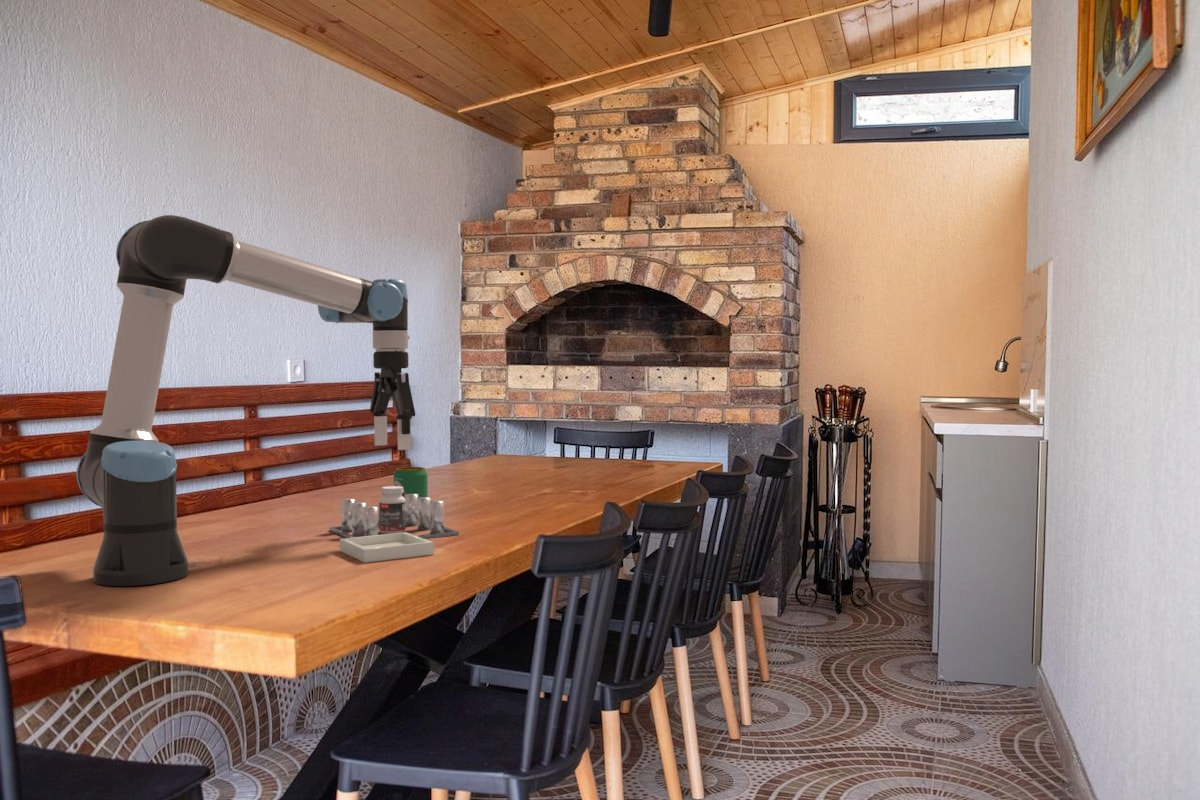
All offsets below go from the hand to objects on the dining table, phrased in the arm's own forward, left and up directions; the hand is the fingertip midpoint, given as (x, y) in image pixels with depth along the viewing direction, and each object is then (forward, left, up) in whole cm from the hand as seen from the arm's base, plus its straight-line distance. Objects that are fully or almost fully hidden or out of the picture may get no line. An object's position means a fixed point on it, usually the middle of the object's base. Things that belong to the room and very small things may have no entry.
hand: (392, 447), depth 222 cm
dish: (-10, -22, -19) cm, 31 cm away
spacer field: (0, 0, -19) cm, 19 cm away
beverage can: (+11, +16, -19) cm, 27 cm away
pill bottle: (0, 0, -19) cm, 19 cm away
